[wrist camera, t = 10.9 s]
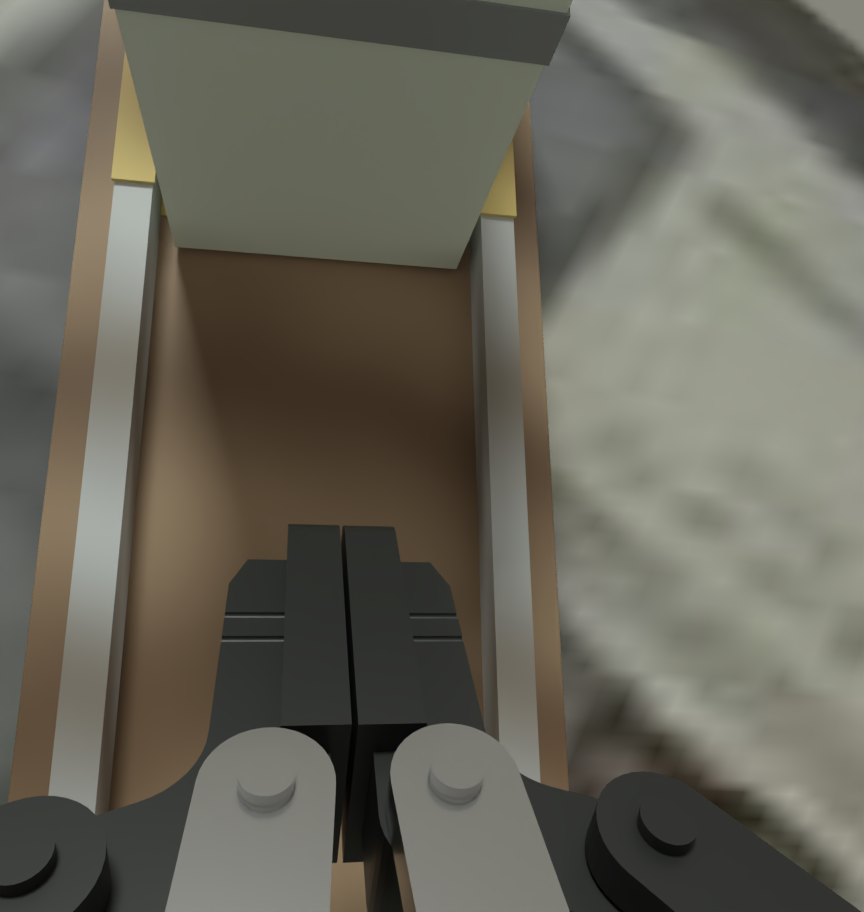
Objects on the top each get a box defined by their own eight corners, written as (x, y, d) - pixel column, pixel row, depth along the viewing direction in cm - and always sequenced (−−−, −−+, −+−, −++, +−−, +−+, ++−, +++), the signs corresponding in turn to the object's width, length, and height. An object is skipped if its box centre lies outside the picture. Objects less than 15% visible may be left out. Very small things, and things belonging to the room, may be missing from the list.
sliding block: (458, 271, 19) (602, -56, 10) (172, 248, 18) (71, -141, 9) (453, 64, 21) (573, -366, 12) (190, 30, 19) (118, -473, 11)
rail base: (570, 1110, 16) (779, 1431, 9) (-21, 1183, 14) (-304, 1661, 7) (512, -5, 23) (604, -277, 16) (123, -62, 21) (50, -396, 15)
